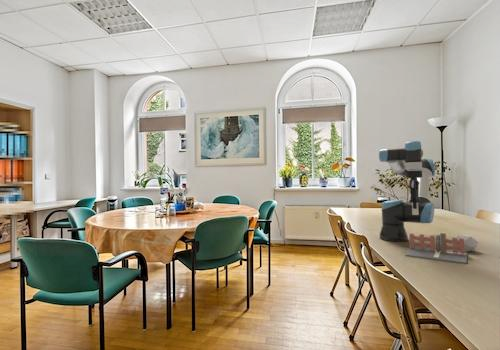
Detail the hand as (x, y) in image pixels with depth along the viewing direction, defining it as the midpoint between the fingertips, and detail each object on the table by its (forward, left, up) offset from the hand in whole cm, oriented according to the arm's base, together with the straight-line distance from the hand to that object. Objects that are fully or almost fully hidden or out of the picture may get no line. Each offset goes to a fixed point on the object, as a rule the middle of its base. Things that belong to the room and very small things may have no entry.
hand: (415, 214), depth 145 cm
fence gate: (+6, +4, -16) cm, 18 cm away
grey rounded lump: (-4, +21, -17) cm, 27 cm away
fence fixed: (+6, +16, -17) cm, 24 cm away
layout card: (+11, +9, -17) cm, 22 cm away
